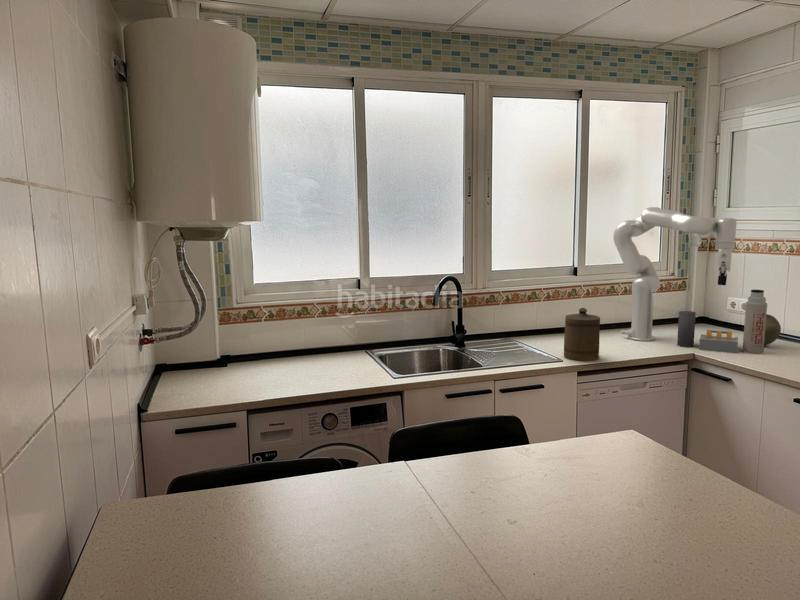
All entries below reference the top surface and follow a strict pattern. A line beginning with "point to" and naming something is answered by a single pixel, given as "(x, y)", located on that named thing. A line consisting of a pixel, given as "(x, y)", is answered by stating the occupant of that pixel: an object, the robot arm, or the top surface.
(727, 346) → the breaker box
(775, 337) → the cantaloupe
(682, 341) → the dark gray cylinder
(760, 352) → the thermos bottle
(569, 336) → the wooden container
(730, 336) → the breaker paddles
